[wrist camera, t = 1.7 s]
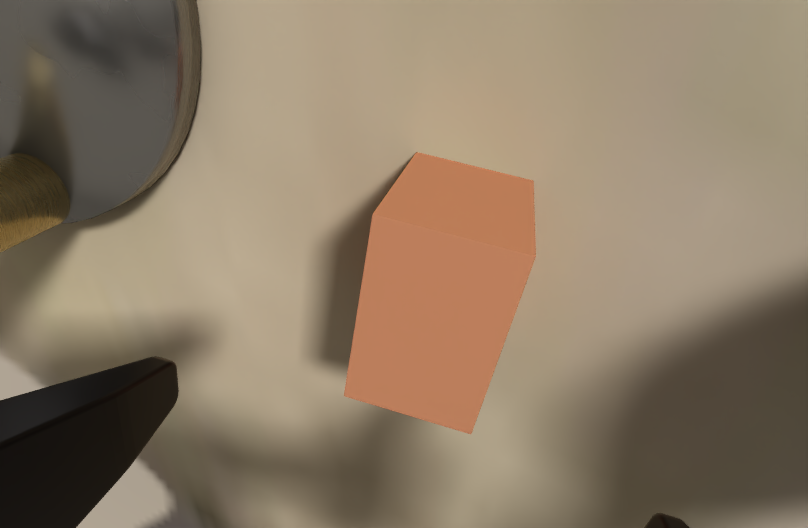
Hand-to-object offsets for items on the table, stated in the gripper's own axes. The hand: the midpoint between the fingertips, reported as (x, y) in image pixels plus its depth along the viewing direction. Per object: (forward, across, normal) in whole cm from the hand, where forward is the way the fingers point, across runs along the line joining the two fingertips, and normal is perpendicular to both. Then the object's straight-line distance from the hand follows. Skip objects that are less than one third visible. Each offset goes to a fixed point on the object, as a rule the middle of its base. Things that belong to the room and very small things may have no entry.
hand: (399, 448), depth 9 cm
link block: (+8, 0, 0) cm, 9 cm away
